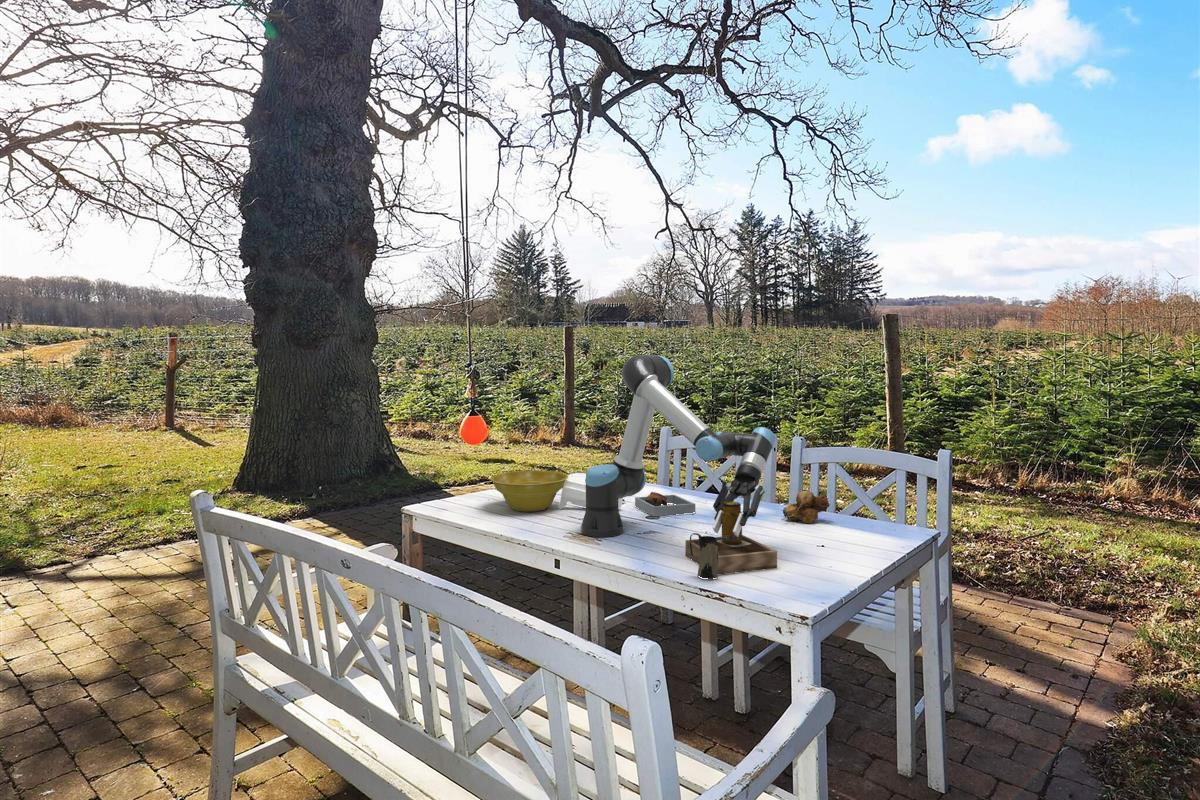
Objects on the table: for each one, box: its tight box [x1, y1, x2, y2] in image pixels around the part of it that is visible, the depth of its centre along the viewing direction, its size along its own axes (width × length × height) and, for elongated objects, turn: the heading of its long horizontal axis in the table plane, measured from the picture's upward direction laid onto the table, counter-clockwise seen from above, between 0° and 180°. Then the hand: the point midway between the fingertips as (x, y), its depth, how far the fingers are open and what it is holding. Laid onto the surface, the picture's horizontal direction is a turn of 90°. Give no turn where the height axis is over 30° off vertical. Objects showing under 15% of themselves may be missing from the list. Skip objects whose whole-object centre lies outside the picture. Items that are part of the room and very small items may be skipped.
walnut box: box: [684, 534, 778, 575], centre depth 204 cm, size 20×20×5 cm
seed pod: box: [780, 490, 831, 524], centre depth 254 cm, size 13×16×15 cm
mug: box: [689, 532, 719, 579], centre depth 190 cm, size 8×6×12 cm
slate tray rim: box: [634, 494, 696, 517], centre depth 275 cm, size 18×20×4 cm
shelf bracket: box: [558, 479, 624, 510], centre depth 277 cm, size 6×25×13 cm, turn 82°
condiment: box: [717, 501, 751, 547], centre depth 202 cm, size 7×8×12 cm
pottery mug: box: [645, 491, 667, 506], centre depth 276 cm, size 12×10×8 cm
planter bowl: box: [489, 469, 569, 513], centre depth 280 cm, size 32×32×13 cm
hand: (725, 532), depth 200 cm, fingers closed on condiment, 6 cm apart
